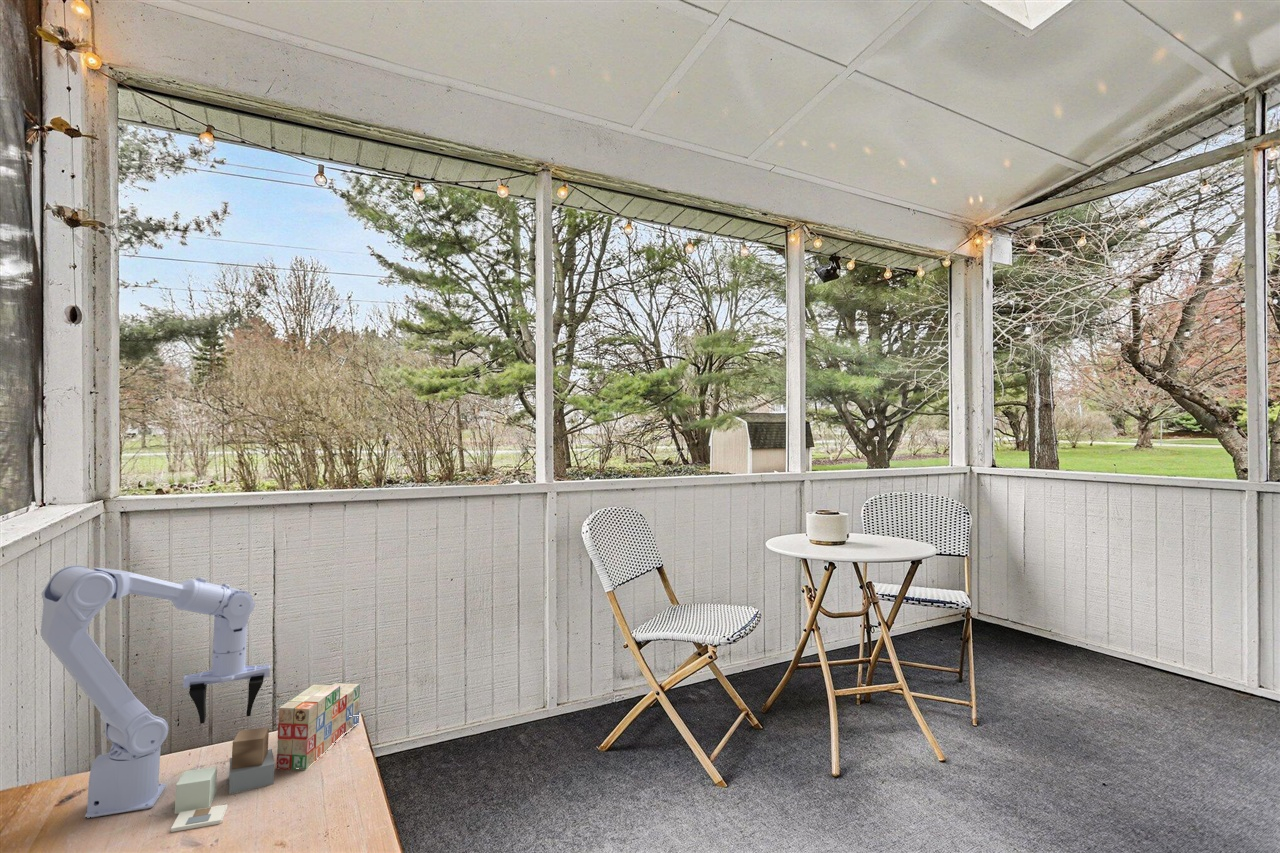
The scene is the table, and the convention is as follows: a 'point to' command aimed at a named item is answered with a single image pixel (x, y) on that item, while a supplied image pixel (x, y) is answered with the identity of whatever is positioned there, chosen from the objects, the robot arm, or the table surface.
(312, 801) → the table surface
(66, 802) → the table surface
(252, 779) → the slate block
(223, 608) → the robot arm
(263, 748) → the walnut block
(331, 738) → the stack of blocks
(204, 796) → the sage block
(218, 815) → the card
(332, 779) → the table surface
